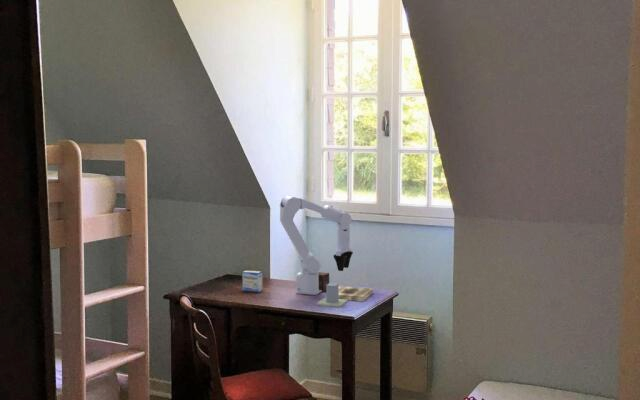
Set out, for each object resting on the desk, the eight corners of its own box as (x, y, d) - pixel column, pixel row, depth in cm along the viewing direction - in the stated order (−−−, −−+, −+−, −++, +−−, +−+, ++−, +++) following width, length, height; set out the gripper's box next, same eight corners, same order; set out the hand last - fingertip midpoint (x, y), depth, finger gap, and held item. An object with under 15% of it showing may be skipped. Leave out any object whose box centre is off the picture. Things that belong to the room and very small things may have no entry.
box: (329, 288, 319) (329, 272, 318) (323, 291, 314) (323, 275, 313) (317, 287, 322) (317, 271, 321) (311, 290, 317) (311, 274, 316)
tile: (316, 305, 289) (316, 303, 289) (324, 299, 299) (324, 297, 299) (340, 307, 286) (340, 305, 286) (347, 301, 296) (347, 299, 296)
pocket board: (326, 298, 301) (326, 293, 301) (337, 290, 316) (337, 286, 316) (362, 301, 296) (362, 296, 295) (372, 293, 311) (372, 288, 310)
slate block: (326, 302, 291) (326, 285, 291) (329, 299, 295) (329, 283, 294) (335, 302, 290) (335, 285, 289) (338, 300, 294) (338, 283, 293)
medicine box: (242, 291, 315) (242, 271, 314) (246, 288, 320) (246, 269, 319) (258, 292, 313) (258, 272, 312) (262, 290, 317) (262, 270, 316)
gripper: (347, 241, 306) (347, 272, 307) (356, 236, 320) (356, 266, 321) (331, 241, 308) (331, 271, 310) (341, 236, 322) (341, 265, 323)
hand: (343, 269), depth 316 cm, fingers open, 7 cm apart
